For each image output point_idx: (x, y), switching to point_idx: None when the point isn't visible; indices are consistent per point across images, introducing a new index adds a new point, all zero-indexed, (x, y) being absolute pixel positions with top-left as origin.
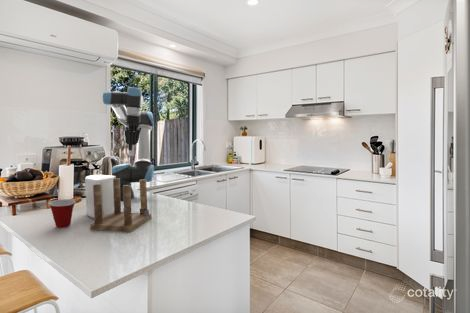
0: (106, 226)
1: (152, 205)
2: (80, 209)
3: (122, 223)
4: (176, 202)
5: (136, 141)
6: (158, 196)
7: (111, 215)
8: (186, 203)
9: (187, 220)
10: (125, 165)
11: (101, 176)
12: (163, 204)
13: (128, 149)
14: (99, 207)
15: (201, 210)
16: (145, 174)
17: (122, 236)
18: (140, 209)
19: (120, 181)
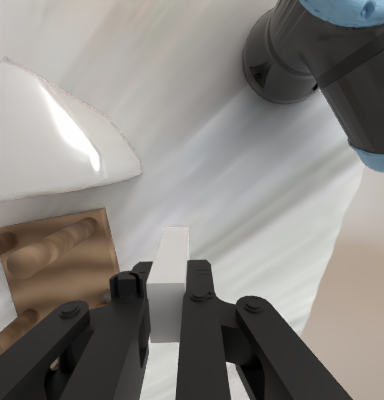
0: (6, 271)
1: (235, 231)
2: (114, 39)
3: (32, 298)
4: (292, 281)
5: (242, 377)
6: (350, 174)
7: (68, 223)
8: (291, 316)
9: (148, 393)
10: (356, 12)
11: (11, 168)
12: (257, 256)
13: (134, 266)
14: None
15: (236, 388)
16: (364, 149)
17: (6, 323)
18: (101, 299)
19: (283, 44)
